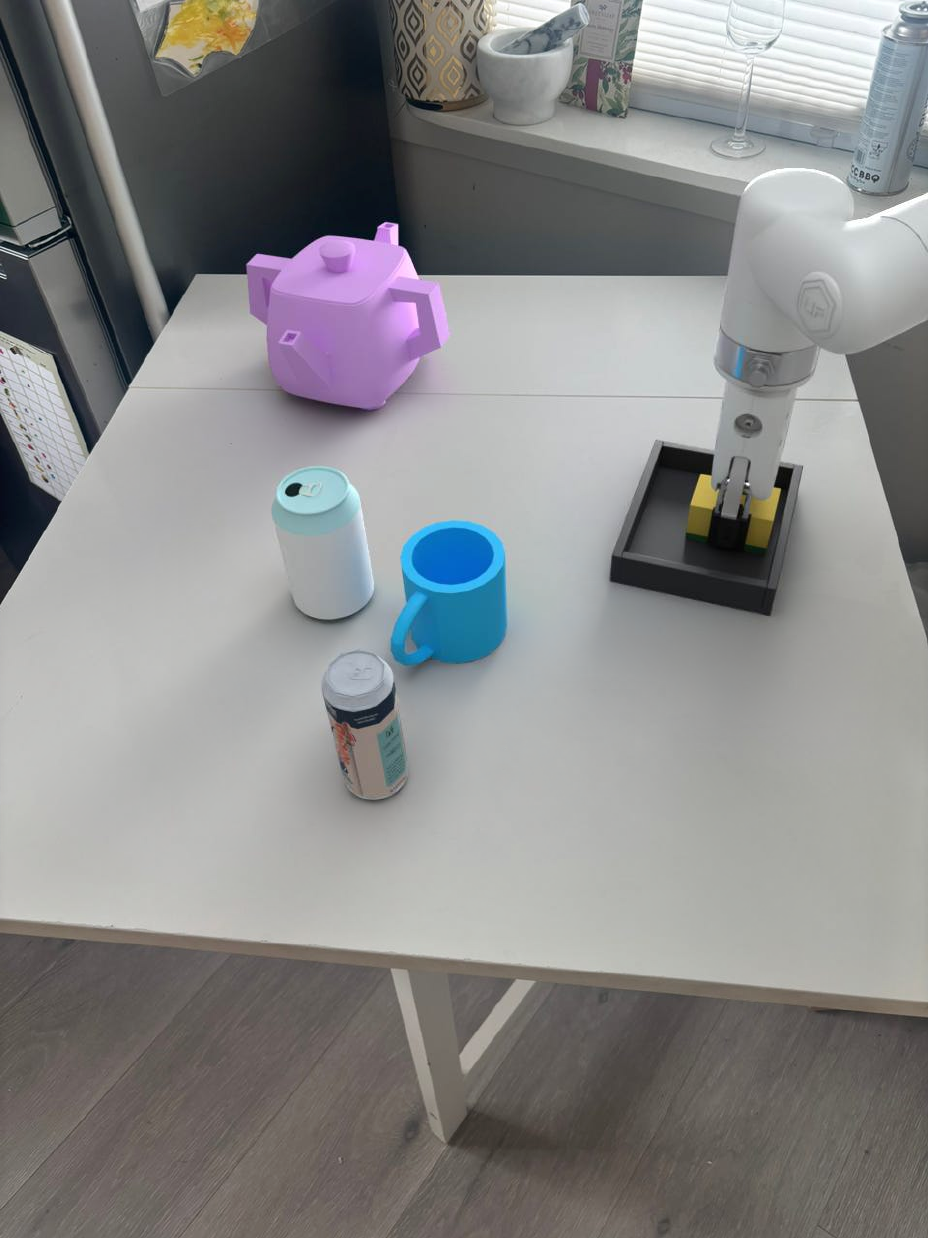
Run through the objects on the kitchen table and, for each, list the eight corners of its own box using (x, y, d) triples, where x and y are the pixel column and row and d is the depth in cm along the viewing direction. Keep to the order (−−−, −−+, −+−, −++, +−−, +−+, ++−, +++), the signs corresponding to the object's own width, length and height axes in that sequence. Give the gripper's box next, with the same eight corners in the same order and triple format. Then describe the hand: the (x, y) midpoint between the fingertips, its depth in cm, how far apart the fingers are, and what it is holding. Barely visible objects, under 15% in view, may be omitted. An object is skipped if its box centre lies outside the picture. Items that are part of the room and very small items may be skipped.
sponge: (772, 522, 89) (781, 488, 86) (765, 555, 86) (773, 521, 83) (694, 507, 91) (700, 473, 88) (684, 539, 88) (690, 504, 85)
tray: (797, 491, 92) (803, 465, 90) (769, 616, 82) (776, 590, 80) (652, 464, 96) (655, 439, 94) (609, 581, 86) (611, 555, 83)
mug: (448, 578, 87) (442, 507, 81) (526, 616, 83) (525, 545, 77) (360, 665, 81) (346, 595, 75) (439, 710, 77) (432, 641, 71)
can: (309, 635, 83) (283, 529, 74) (283, 583, 88) (255, 476, 79) (387, 607, 85) (370, 499, 76) (357, 556, 89) (338, 450, 80)
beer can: (348, 749, 75) (323, 644, 66) (411, 748, 75) (395, 644, 66) (341, 803, 72) (314, 701, 63) (406, 803, 72) (389, 701, 63)
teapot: (302, 449, 100) (275, 314, 89) (247, 362, 112) (217, 233, 101) (472, 394, 106) (465, 260, 95) (403, 316, 117) (390, 188, 106)
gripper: (803, 420, 68) (757, 602, 82) (832, 297, 79) (787, 477, 92) (694, 402, 70) (667, 583, 84) (736, 284, 81) (706, 462, 94)
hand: (730, 525), depth 88 cm, fingers closed on sponge, 4 cm apart
